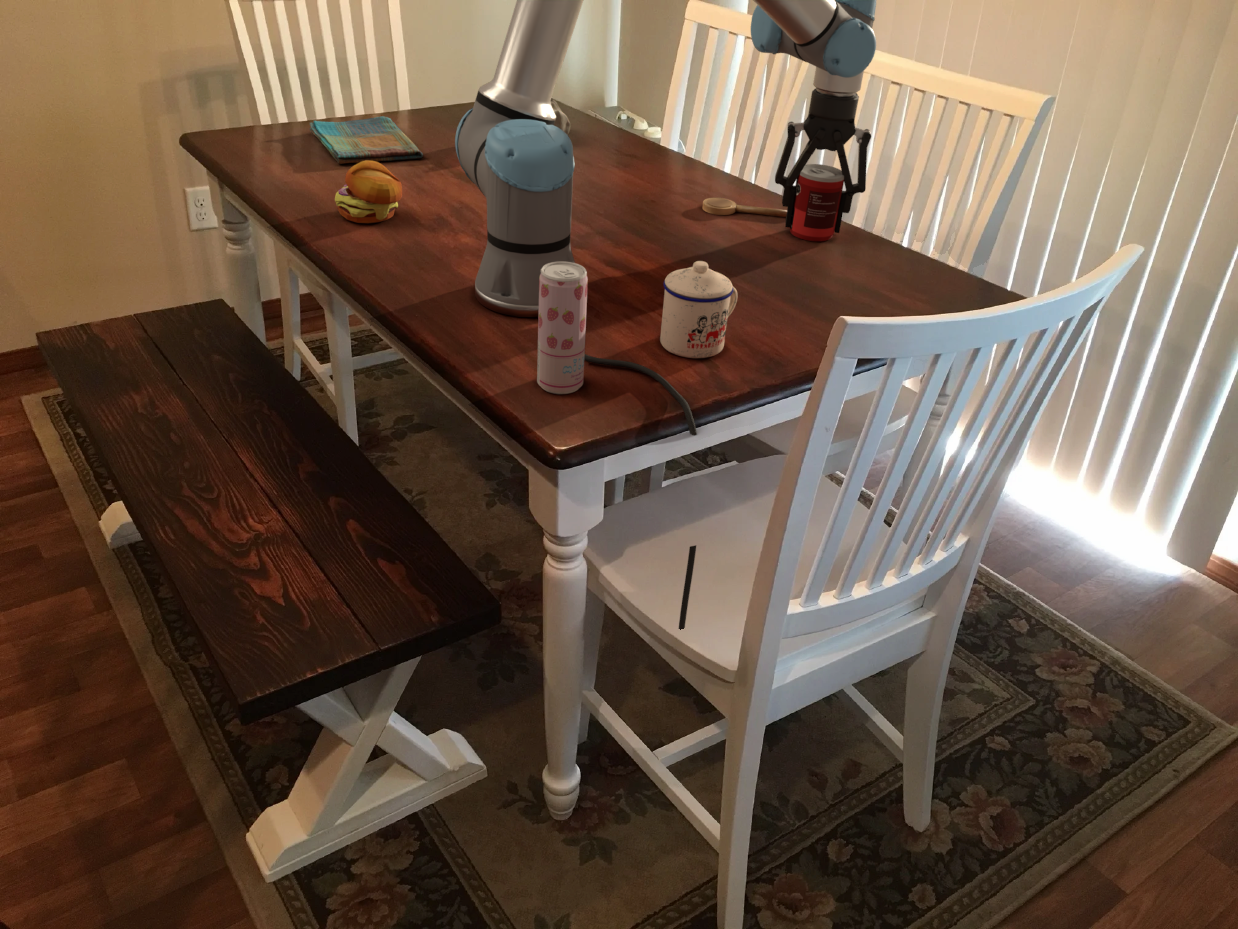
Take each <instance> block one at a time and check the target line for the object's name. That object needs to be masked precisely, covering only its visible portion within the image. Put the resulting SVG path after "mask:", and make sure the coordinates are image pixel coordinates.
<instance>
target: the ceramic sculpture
mask: <svg viewBox="0 0 1238 929" xmlns="http://www.w3.org/2000/svg"><path fill="white" fill-rule="evenodd" d="M551 106H552V108H553V110H554V113H555V115H556V120H555V123H554V126H556V127H558V128H560V129H561V130H563V131H564V132H565V133H566V134H567V135H568V136H569V133H570V130H571V125H572V124H571V122H570V120H569V118H568V116H567V115H566V114H565V113H564V112H563V111H562V109H561V107H560V106H559V104H558V102H557V101H556V100H554V99H553V98H551Z"/></svg>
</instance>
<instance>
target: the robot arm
mask: <svg viewBox="0 0 1238 929" xmlns="http://www.w3.org/2000/svg"><path fill="white" fill-rule="evenodd" d="M752 1H753V2H754V3H755V5H756V6H755V8H754V10H753V13H752V16H751V22H750V37H751V42H752V44H753V46H754V48H755V49H756V50H757V51H758V52H760V53H761V54H763V53H764V54H772V55H777V54H786V55H789V56H791V57H793V58H795V59H798V60H800V61H802V62H805V63H808V64H810V65H811V66H814V67H815V71H814V77H813V83H812V85H813V87H814V89H813V90H812V91H811V96H810V102H809V108H808V114H807V116H806V118H805V119H804V121H803V122H794V121H789V122H788V123H787V137H786V140H785V144H784V147H783V150H782V153H781V156H780V159H779V163H778V166H777V168H776V173H775V175H774V183H775V184H776V185H780V186H782V187H783V192H782V197H781V198H782V199H781V205H782V207H785V208H787V209H786V210H787V215H786V217H785V222H784V225H785V228H788V229H790V222H791V216H792V210H793V204H794V198H795V192H796V185H794V184H796V181H797V178H798V176H799V175H800V173H801V171H802V170H803V168H804V166H805V165H807V164H808V162H809V160H810V159H811V157H812V156H813V154H814V153H815V152H816V150H817V151H818V150H819V151H824V150H828V151H830V152H836V153H837V158H838V162H839V166H840V170H841V171H842V175H844V187H845V188H844V189H845V190H842V195H841V200H840V205H839V210H838V215H837V221H836V226H835V231H834V234H840V231H841V226H842V220H843V216H844V214H849V213H850V212H851V208H852V203H853V197H854V195H856V194H862V193H865V192H866V186H867V162H868V161H867V158H868V157H867V155H868V146H869V144H870V142H871V139H872V133H871V130H870V129H868V128H866V129H862V128H858V127H857V126H856V124H855V122H856V120H855V119H856V116H857V115H856V114H857V109H858V104H859V98H860V96H859V94H858V92H860V91H861V88H862V83H863V78H864V72H865V70H866V69H867V68H868V67H869V65H870V64H871V62H872V61H873V59H874V57H875V54H876V50H877V38H876V34H875V32H874V29H873V26H874V22H875V21H876V20H875V19H876V18H875V17H876V16H875V15H876V7H877V0H752ZM583 3H584V0H516V2H515V5H514V8H513V12H512V15H511V18H510V22H509V25H508V29H507V32H506V35H505V39H504V42H503V45H502V48H501V51H500V54H499V58H498V62H497V65H496V68H495V72H494V75H493V78H492V79H491V80H490V81H488V82H486V83H485V84H482V85H481V86H479V87H478V90H477V94H476V96H475V100H474V104H473V107H472V108H470V109H469V110H467V111H466V113H465V114H464V115H463V116H462V117H461V119H460V121H459V123H458V125H457V127H456V132H455V137H454V147H455V154H456V157H457V159H458V162H459V164H460V167H461V169H462V170H463V172H464V174H465V176H466V177H467V178H468V179H469V181H471V183H473V184H474V185H475V187H477V189H478V190H479V191H480V193H482V195H483V196H484V197H485V199H486V239H487V241H486V246H485V250H484V252H483V256H482V259H481V261H480V265H479V267H478V270H477V273H476V277H475V280H474V293H475V294H474V295H475V298H476V300H477V302H479V303H480V305H481V306H483V307H484V308H486V309H488V310H491V311H493V312H495V313H498V314H503V315H507V316H512V317H520V318H538V317H539V277H540V274H541V269H542V267H543V266H544V265H546V264H548V263H551V262H559V261H564V262H572V263H576V261H575V258H574V255H573V251H572V247H571V233H572V212H573V211H572V210H573V188H574V187H573V186H574V172H575V168H576V167H575V165H576V164H575V157H574V147H573V141H572V139H571V138H570V137H569V134H568V135H567V134H566V133H565V132H564V131H563V130H561V129H560V128H558V127H556V126H554V123H555V120H556V115H555V113H554V110H553V108H552V106H551V98H552V97H553V95H554V92H555V89H556V85H557V82H558V80H559V76H560V73H561V70H562V68H563V64H564V61H565V58H566V54H567V52H568V49H569V46H570V42H571V39H572V36H573V35H574V34H573V33H574V31H575V29H576V28H575V27H576V25H577V22H578V18H579V15H580V12H581V9H582V6H583ZM552 99H553V98H552ZM802 131H804V132H805V134H806V136H807V138H808V141H807V143H806V145H805V147H804V148H803V150H802V152H801V153H800V155H799V157H798V158H797V160H796V162H794V165H793V167H792V168H791V170H790V171H789V173H788V175H787V176H786V175H785V174H786V170H787V167H788V164H789V161H790V159H791V155H792V152H793V150H794V146H795V142H796V138H798V137H800V135H801V132H802ZM853 136H855V141H856V143H857V144H858V153H857V154H858V155H857V182H856V183H853V180H852V176H851V171H850V167H849V162H848V156H847V152H846V149H845V145H846V143H848V142H849V141H850V140H851V139H852V137H853ZM584 362H588V363H590V364H595V365H601V366H607V367H618V368H626V369H631V370H633V371H634V370H635V371H638V372H640V373H642V374H644V375H647V376H649V377H651V378H652V379H653V380H655V381H656V382H658V383H659V384H660V385H661V386H662V387H663V388H664V389H665V390H666V391H667V392H668V393H669V395H671V396H672V397H673V399H675V401H676V402H677V403H678V404H679V405H680V406H681V407H682V411H683V414H684V416H685V419H686V424H687V427H688V430H689V434H690V435H691V436H698V431H697V428H696V423H695V419H694V417H693V413H692V410H691V408H690V405H689V403H688V401H687V400H686V399H685V398H684V397H683V395H682V394H680V392H678V391H677V390H676V388H674V386H673V385H671V383H670V382H669V381H668V380H666V379H665V378H664V377H663V376H662V375H661V374H659V373H658V372H656V371H654V370H653V369H651V368H648V367H647V366H645V365H641V364H639V363H635V362H632V361H626V360H620V359H612V358H611V359H610V358H602V357H597V356H591V355H588V354H586V353H585V354H584ZM688 549H689V550H688V557H687V564H686V572H685V579H684V585H683V591H682V598H681V606H680V613H679V621H678V629H680V630H681V629H684V628H685V629H686V621H687V615H688V614H687V613H688V607H689V599H690V592H691V587H692V580H693V575H694V574H693V573H694V566H695V559H696V552H697V545H690V546H689V548H688Z"/></svg>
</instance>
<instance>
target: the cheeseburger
mask: <svg viewBox="0 0 1238 929" xmlns="http://www.w3.org/2000/svg"><path fill="white" fill-rule="evenodd" d="M344 176H345V177H344V183H345V184H343V187H341V188H340V189H338V191H337V192H335V196H334V202H335V204H336V207H337V211H338V212H339V215H340V216H342V217H343V218H345V219H346V220H347V221H350V222H354V223H357V224H375V223H376V224H377V223H380V222H384V221H387V220H389V219H391V218H392V217H394V214H395V210H396V209H398V207H399V203H398V202H399V201H400V200H401V199H402V197H403V185H402V183H401V181H400V180H399V178H398V177H396V176H395V175H394V174H393V173H392V172H391V171H390V170H389V169H388V168H387V167H386V166H385V165H383V163H380V161H369V160H365V161H362V162H359V163H355V164H354V165H352V166H351V167H350V168H349V169H348V170H347V172H346V173H345V175H344Z"/></svg>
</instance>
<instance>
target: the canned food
mask: <svg viewBox="0 0 1238 929" xmlns="http://www.w3.org/2000/svg"><path fill="white" fill-rule="evenodd" d="M844 185H845V183H844V175H842V170H841V168H837V167H834V166H831V165H827V164H821V163H820V164H819V163H809V164H808V163H806V165H805V166H804V168H803V170H802V171H801V173H800V175H799V176H798V178H797V179H796V181H795V186H796V192H795V198H794V204H793V210H792V216H791V222H790V228H789V232H790V234H791V235H792V236H794V237H796V238H797V239H800V240H803V241H807V242H826V241H829V240H831V239H832V238H833V236H834V234H835V226H836V221H837V215H838V210H839V205H840V200H841V195H842V191H844V190H843V188H844Z"/></svg>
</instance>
